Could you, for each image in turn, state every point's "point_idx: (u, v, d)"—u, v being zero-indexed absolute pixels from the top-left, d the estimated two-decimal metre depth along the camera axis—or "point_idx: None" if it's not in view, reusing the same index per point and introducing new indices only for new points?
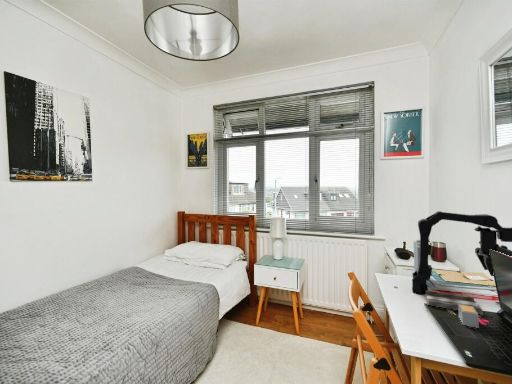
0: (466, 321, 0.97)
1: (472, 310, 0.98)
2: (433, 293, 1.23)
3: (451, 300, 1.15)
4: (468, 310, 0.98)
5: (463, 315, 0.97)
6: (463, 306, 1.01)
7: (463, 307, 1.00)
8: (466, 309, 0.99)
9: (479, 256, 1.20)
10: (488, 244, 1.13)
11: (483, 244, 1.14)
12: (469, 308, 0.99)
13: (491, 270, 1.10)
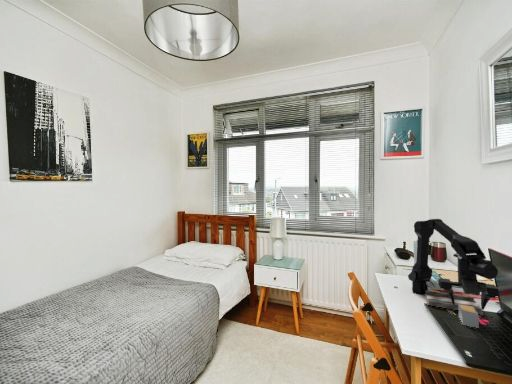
0: (466, 321, 0.97)
1: (472, 310, 0.98)
2: (433, 293, 1.23)
3: None
4: (469, 310, 0.98)
5: (463, 315, 0.97)
6: (463, 306, 1.01)
7: (463, 307, 1.00)
8: (466, 309, 0.99)
9: (481, 292, 0.99)
10: (458, 271, 1.01)
11: None
12: (469, 308, 0.99)
13: (450, 297, 1.03)
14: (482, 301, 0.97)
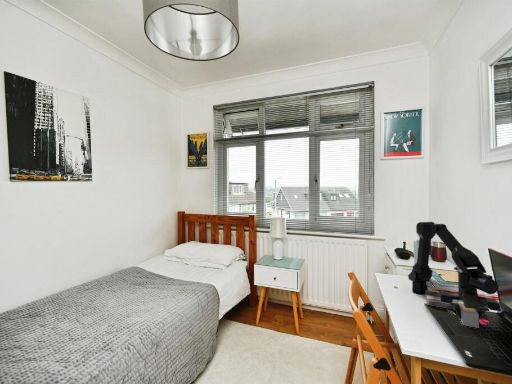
0: (466, 321, 0.97)
1: (472, 310, 0.98)
2: (433, 293, 1.23)
3: None
4: (469, 310, 0.98)
5: (463, 315, 0.97)
6: (463, 306, 1.01)
7: (463, 307, 1.00)
8: (466, 309, 0.99)
9: None
10: (458, 284, 1.01)
11: None
12: (469, 308, 0.99)
13: (456, 311, 1.02)
14: None
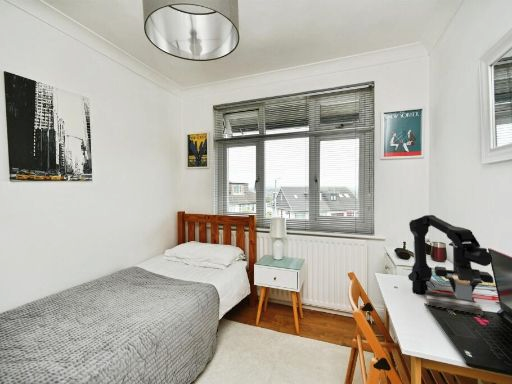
0: (460, 293, 1.01)
1: (466, 283, 1.02)
2: (433, 293, 1.23)
3: (451, 300, 1.15)
4: (463, 283, 1.02)
5: (457, 288, 1.01)
6: (457, 280, 1.05)
7: (457, 281, 1.04)
8: (460, 282, 1.03)
9: None
10: (453, 259, 1.05)
11: None
12: (463, 282, 1.03)
13: (451, 285, 1.06)
14: None
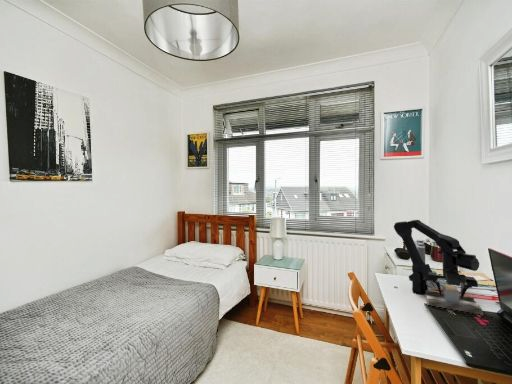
0: (449, 298, 1.12)
1: (454, 289, 1.13)
2: (433, 293, 1.23)
3: None
4: (451, 289, 1.13)
5: (446, 293, 1.13)
6: (447, 286, 1.17)
7: (446, 287, 1.16)
8: (449, 288, 1.14)
9: (461, 283, 1.14)
10: None
11: None
12: (451, 287, 1.15)
13: None
14: (461, 291, 1.13)
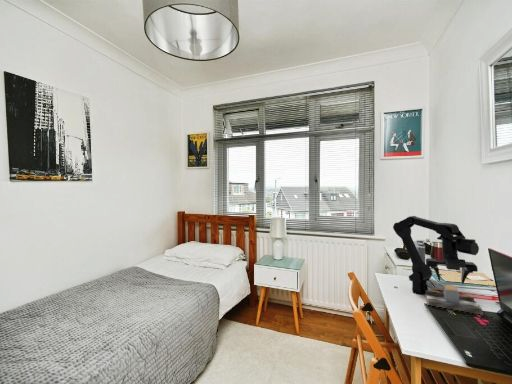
0: (449, 298, 1.12)
1: (454, 289, 1.13)
2: (433, 293, 1.23)
3: None
4: (451, 289, 1.13)
5: (446, 293, 1.13)
6: (447, 286, 1.17)
7: (446, 287, 1.16)
8: (449, 288, 1.14)
9: (462, 269, 1.14)
10: (442, 251, 1.16)
11: None
12: (451, 287, 1.15)
13: None
14: (462, 276, 1.12)
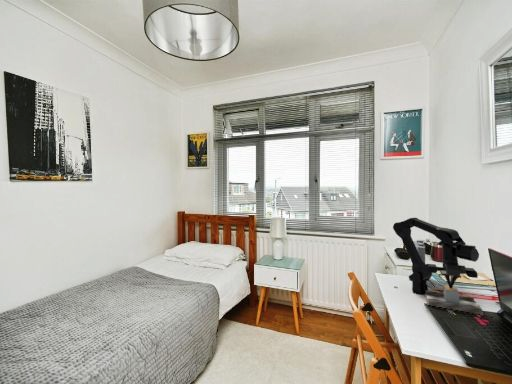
0: (449, 298, 1.12)
1: (454, 289, 1.13)
2: (433, 293, 1.23)
3: None
4: (451, 289, 1.13)
5: (446, 293, 1.13)
6: (447, 286, 1.17)
7: (447, 287, 1.16)
8: (449, 288, 1.14)
9: None
10: None
11: None
12: None
13: (447, 281, 1.16)
14: (451, 281, 1.14)
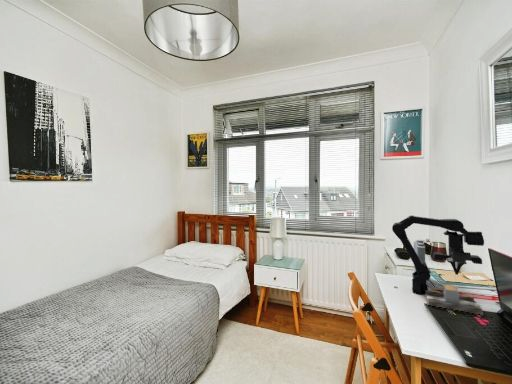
0: (449, 298, 1.12)
1: (454, 289, 1.13)
2: (433, 293, 1.23)
3: None
4: (451, 289, 1.13)
5: (446, 293, 1.13)
6: (447, 286, 1.17)
7: (446, 287, 1.16)
8: (449, 288, 1.14)
9: None
10: None
11: None
12: (451, 287, 1.15)
13: (453, 268, 1.22)
14: (457, 268, 1.21)
